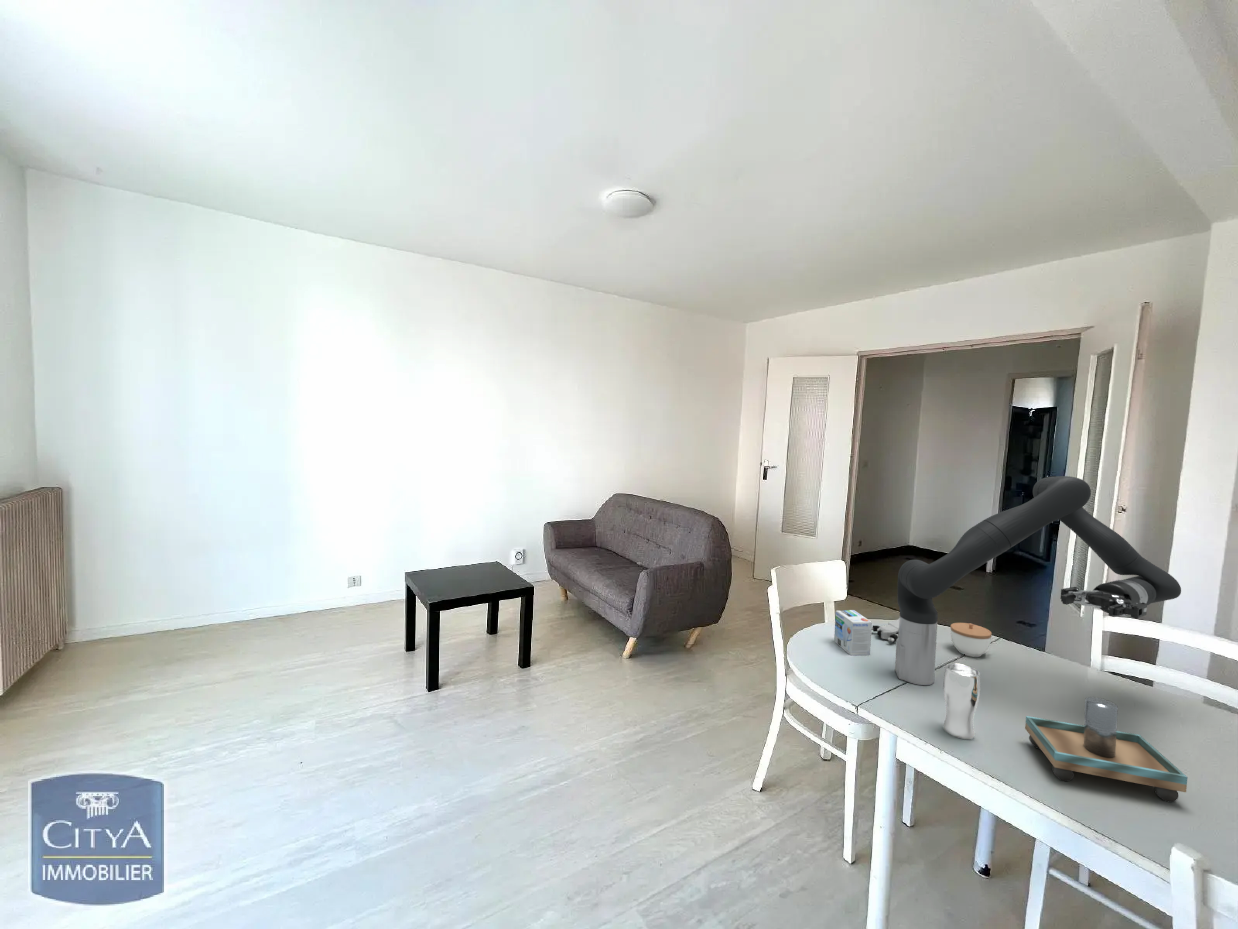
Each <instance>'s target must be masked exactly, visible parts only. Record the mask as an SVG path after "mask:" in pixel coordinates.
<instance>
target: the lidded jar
mask: <svg viewBox="0 0 1238 929" xmlns="http://www.w3.org/2000/svg"><path fill="white" fill-rule="evenodd" d="M949 627H950V628H949V629H950V640H951V642H952V645H953V646H954V648H955V649H956V650H957V651H959V653H960V654H962V655H964V654H965V655H964V656H967V657H973V658H979V657H981V656H982V655H984V654H985V653H987V652H988V650H989V649H990V647H991V640H992V634H993V633H992V631H991V630H989V629H988V628H986V627H984V626H983V627H982V626H980V625H977V624H973V623H967V622H954V623H951V624H950V626H949Z"/></svg>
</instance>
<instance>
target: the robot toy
mask: <svg viewBox="0 0 1238 929" xmlns="http://www.w3.org/2000/svg"><path fill="white" fill-rule="evenodd" d="M871 631H872V632H875V633H877V634H876V635H877V637H879V638H881V639H883V640H885V641H889V642H893V643H895V642H896V640H897V639H898V636H899V618H897V619H893V620H890V621H889V622H888V623H887V624H886V625H884V624H883V625H873V624H872V629H871Z"/></svg>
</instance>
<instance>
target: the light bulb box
mask: <svg viewBox="0 0 1238 929" xmlns="http://www.w3.org/2000/svg"><path fill="white" fill-rule="evenodd" d="M834 615H835V619H834V634H833V636H834V637H833V638H834V640H833V642H834V643H836V645H838V646H839V647H840V648H842V649H843V651H845V652H846V653H847V654H848V655H849V654H850V656H870V655H871V646H872V630H871V629H872V627H873V622H872V621H871V620H870V619H868V618H867V617H865V616H863V615H862V614H861V613H859V612H858V611H856V610H855V609H847V610H846V609H845V610H842V609H840V610H835V614H834Z"/></svg>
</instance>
